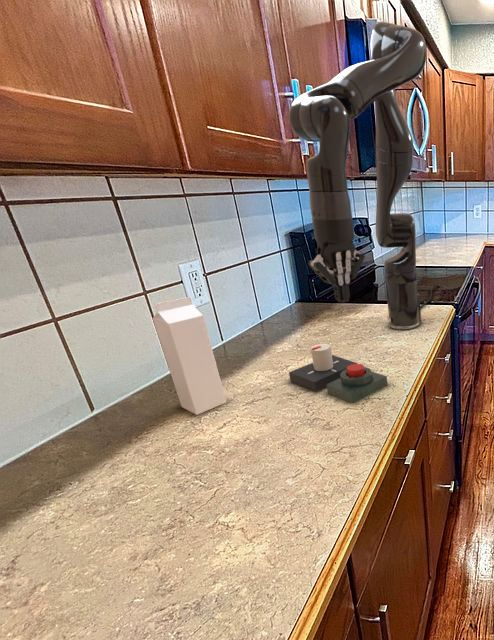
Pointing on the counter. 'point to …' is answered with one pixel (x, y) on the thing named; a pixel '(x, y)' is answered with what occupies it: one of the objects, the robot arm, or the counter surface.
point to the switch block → (356, 385)
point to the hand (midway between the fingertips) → (343, 301)
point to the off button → (355, 370)
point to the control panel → (319, 374)
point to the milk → (189, 355)
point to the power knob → (322, 357)
